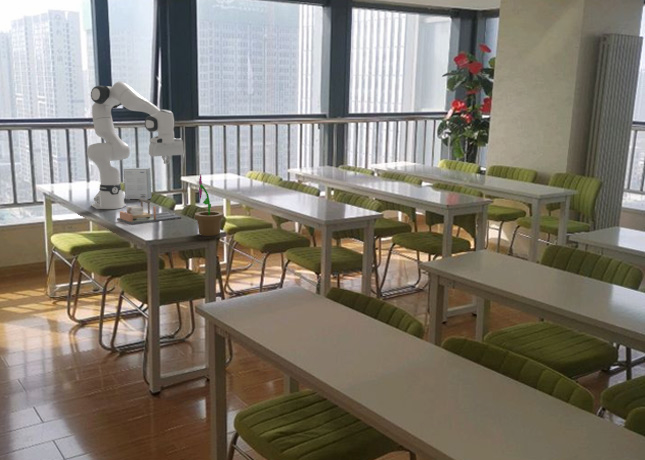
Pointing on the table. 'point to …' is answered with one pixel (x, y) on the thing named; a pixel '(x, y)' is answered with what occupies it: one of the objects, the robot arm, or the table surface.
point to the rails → (157, 216)
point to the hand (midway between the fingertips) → (166, 163)
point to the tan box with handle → (139, 210)
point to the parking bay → (129, 216)
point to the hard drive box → (137, 183)
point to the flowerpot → (208, 217)
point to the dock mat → (152, 219)
